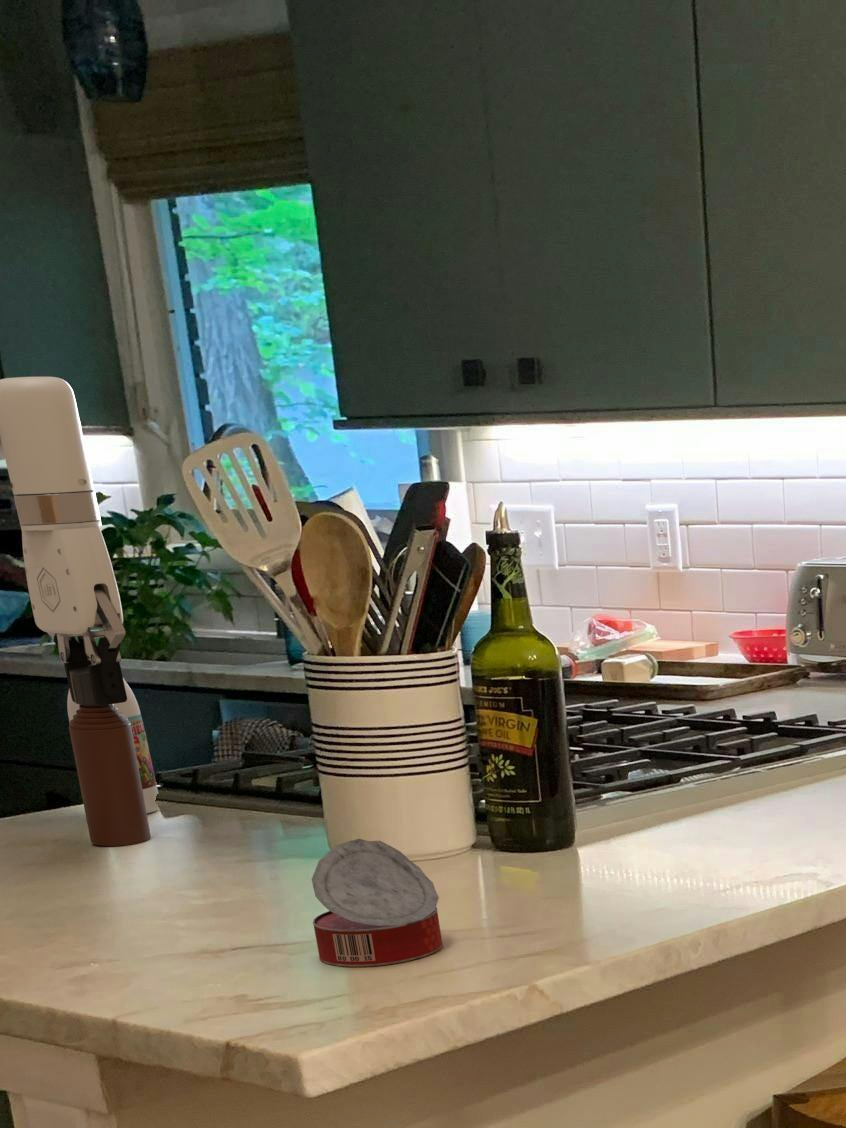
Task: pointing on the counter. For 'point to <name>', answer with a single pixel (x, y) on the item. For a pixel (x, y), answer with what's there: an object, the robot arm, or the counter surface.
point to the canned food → (374, 907)
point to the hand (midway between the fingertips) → (99, 700)
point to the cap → (82, 686)
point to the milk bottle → (140, 742)
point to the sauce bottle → (109, 776)
